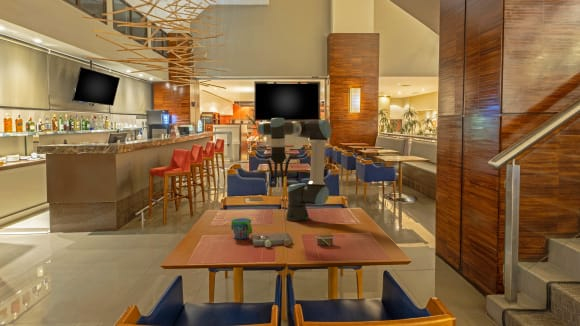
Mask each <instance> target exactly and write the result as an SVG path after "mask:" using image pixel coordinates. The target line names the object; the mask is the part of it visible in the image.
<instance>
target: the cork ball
mask: <svg viewBox="0 0 580 326" xmlns="http://www.w3.org/2000/svg"><path fill="white" fill-rule="evenodd" d="M290 245H292V244H291V241H290V240H289V239H286V240H285V241H284V246H285V247H289V246H290Z"/></svg>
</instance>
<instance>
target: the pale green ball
mask: <svg viewBox="0 0 580 326" xmlns="http://www.w3.org/2000/svg"><path fill="white" fill-rule="evenodd" d="M271 246H272V245H271V242H270V241H269V240H267V241H265V246H264V247H265V248H270V247H271Z"/></svg>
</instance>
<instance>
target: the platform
mask: <svg viewBox="0 0 580 326" xmlns="http://www.w3.org/2000/svg"><path fill="white" fill-rule="evenodd" d="M335 236H336V235H334V234H333V233H332V232H322V233H321V232H320V233H319V235H315V239H316V242H317V246H327V245H328V246H331V245H332V246H333V245H334V240H333V239H334V238H335Z"/></svg>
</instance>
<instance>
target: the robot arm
mask: <svg viewBox="0 0 580 326" xmlns="http://www.w3.org/2000/svg"><path fill="white" fill-rule="evenodd" d="M257 133H258V134H259V135H260V136H270V146H271V147H270V150H271V151H270V152H271V155H270V157H269V158H267V159H266V162H267V163H268V168H269V173H270V174H269V175H270V176H271V178H274V179H273V180H274V181H273V183H274V184H275V185H276V188H275V189H276V191H279V190H280V191H282V189H283V187H282V185H283V184H284V178H285V177H287V175H288V171H289V164H290V162H291V159H290V158H288V157H287V155H286V147H285V146H286V139H285V138H286V136H292V137H295V138H296V137H297V138H305V139H309V142H310V144H311V149H310V173H309V175H310V176H309V181H308V182H307V184H306V183H305V182H303V183H300V182H299V183H294V184H290V185H288V187H287V200H288V203H287V204H288V205H287V206H288V207H287V210H286V213H285V220H286V221H289V222H304V221H308V220H309V219H310V215H309V212H308V208H307V205H314V206H323V205H325V204H326V202H327V201H328V199H329V194H330V190H329V188H328V187H327V184H326V183H325V182H324V177H325V176H324V173H325V154H326V153H325V151H326V143H327V142H328V140H329V138H331V136H332V127H331V124H330V122H329V120H327V119H306V120H304V119H303V120H298V121H295V120H294V121H290V120H288V121H285V118H284V117H273V118H271V119H270V121H262V122H259V123H258V125H257ZM271 162H273V163H274V164H273V165H274V166H273V167H274V168H273V167H272V163H271ZM284 162H285V165H284V164H283V163H284ZM278 164H279V174H280V176H279V177H278ZM283 165H284V167H283ZM273 171H274V172H273Z"/></svg>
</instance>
